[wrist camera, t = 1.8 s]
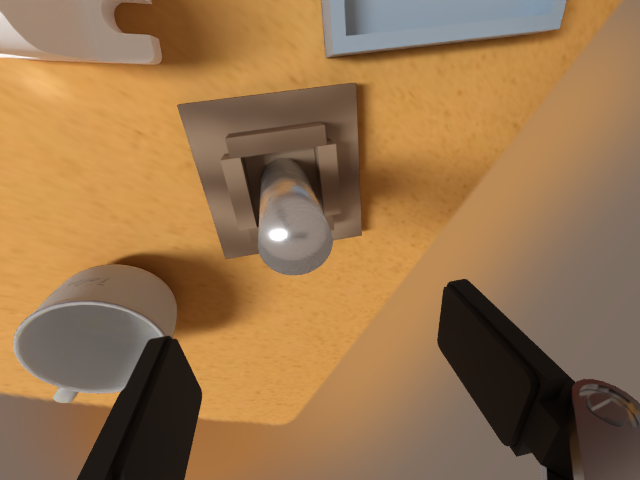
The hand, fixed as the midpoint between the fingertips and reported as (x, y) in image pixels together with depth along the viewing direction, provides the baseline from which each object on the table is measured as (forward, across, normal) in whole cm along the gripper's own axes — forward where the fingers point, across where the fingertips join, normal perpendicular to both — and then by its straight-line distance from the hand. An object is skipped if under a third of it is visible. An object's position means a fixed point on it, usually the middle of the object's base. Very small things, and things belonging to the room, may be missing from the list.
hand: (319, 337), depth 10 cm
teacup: (+20, +19, +10) cm, 30 cm away
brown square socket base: (+20, 0, -1) cm, 20 cm away
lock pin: (+18, 0, -1) cm, 18 cm away
